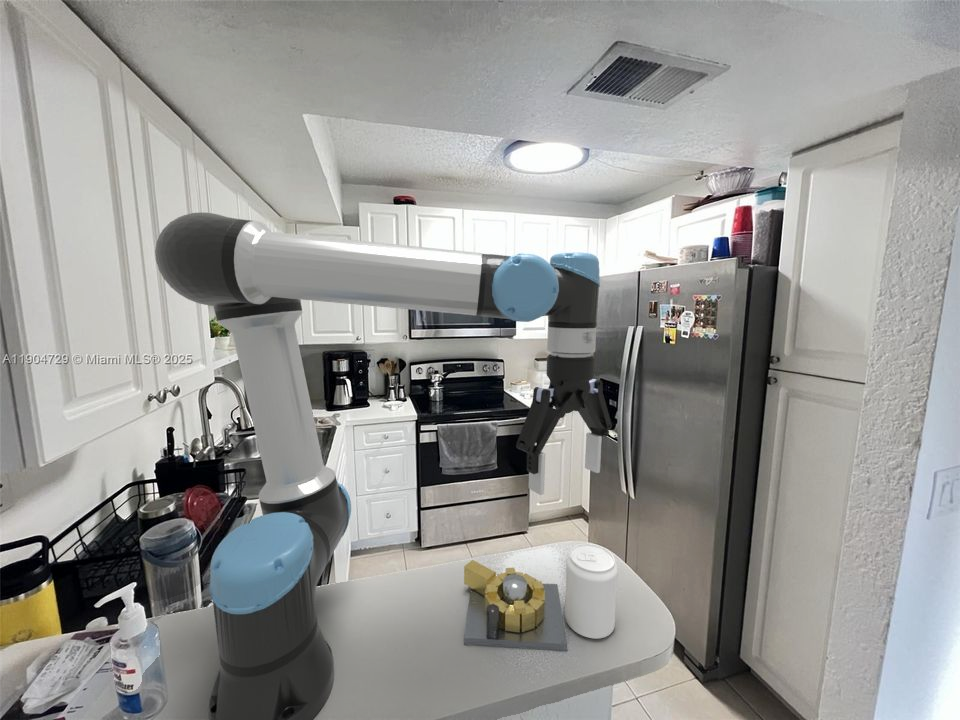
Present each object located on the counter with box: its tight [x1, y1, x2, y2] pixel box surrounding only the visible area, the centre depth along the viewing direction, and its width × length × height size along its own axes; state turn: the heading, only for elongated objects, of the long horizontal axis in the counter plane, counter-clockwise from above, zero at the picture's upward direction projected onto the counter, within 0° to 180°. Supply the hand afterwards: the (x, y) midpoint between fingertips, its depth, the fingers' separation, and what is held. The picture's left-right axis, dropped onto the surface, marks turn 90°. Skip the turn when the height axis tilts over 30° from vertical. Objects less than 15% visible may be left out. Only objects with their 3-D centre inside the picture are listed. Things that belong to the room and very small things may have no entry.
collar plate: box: [463, 574, 568, 652], centre depth 67 cm, size 16×13×6 cm
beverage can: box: [564, 542, 619, 640], centre depth 65 cm, size 8×8×12 cm
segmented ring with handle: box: [463, 559, 545, 632], centre depth 69 cm, size 16×10×4 cm, turn 51°
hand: (565, 480), depth 66 cm, fingers open, 13 cm apart
